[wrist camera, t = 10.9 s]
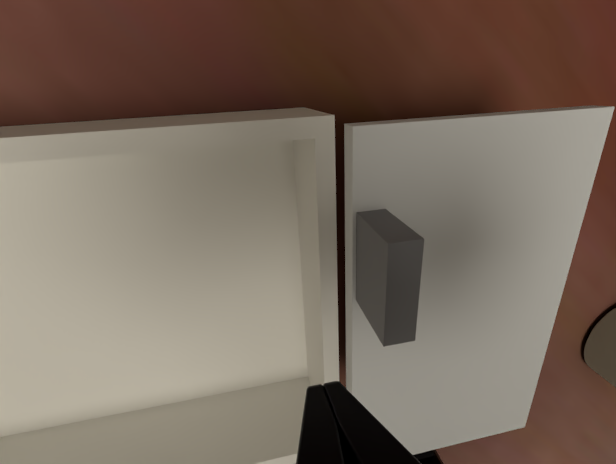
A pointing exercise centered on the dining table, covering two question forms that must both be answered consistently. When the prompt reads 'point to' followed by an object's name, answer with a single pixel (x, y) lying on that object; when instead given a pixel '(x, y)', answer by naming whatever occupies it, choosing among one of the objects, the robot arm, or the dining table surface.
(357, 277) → the flap
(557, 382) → the dining table surface
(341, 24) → the dining table surface
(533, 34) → the dining table surface
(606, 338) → the travel mug
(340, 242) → the dining table surface
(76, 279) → the carton
